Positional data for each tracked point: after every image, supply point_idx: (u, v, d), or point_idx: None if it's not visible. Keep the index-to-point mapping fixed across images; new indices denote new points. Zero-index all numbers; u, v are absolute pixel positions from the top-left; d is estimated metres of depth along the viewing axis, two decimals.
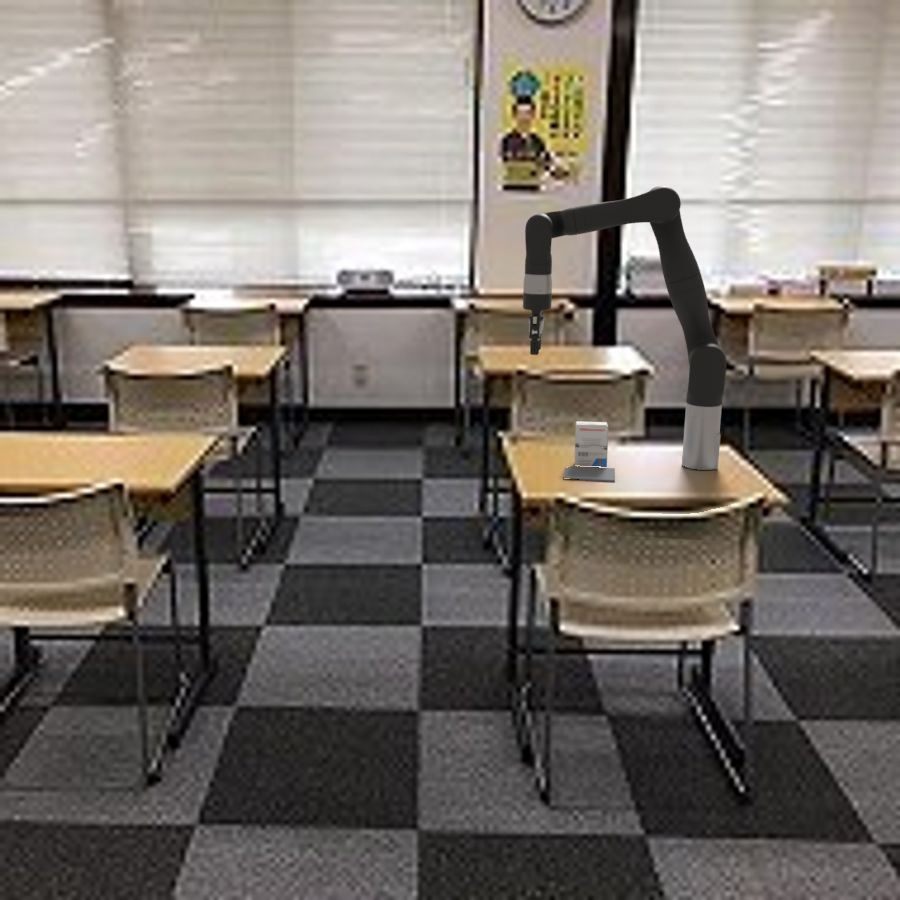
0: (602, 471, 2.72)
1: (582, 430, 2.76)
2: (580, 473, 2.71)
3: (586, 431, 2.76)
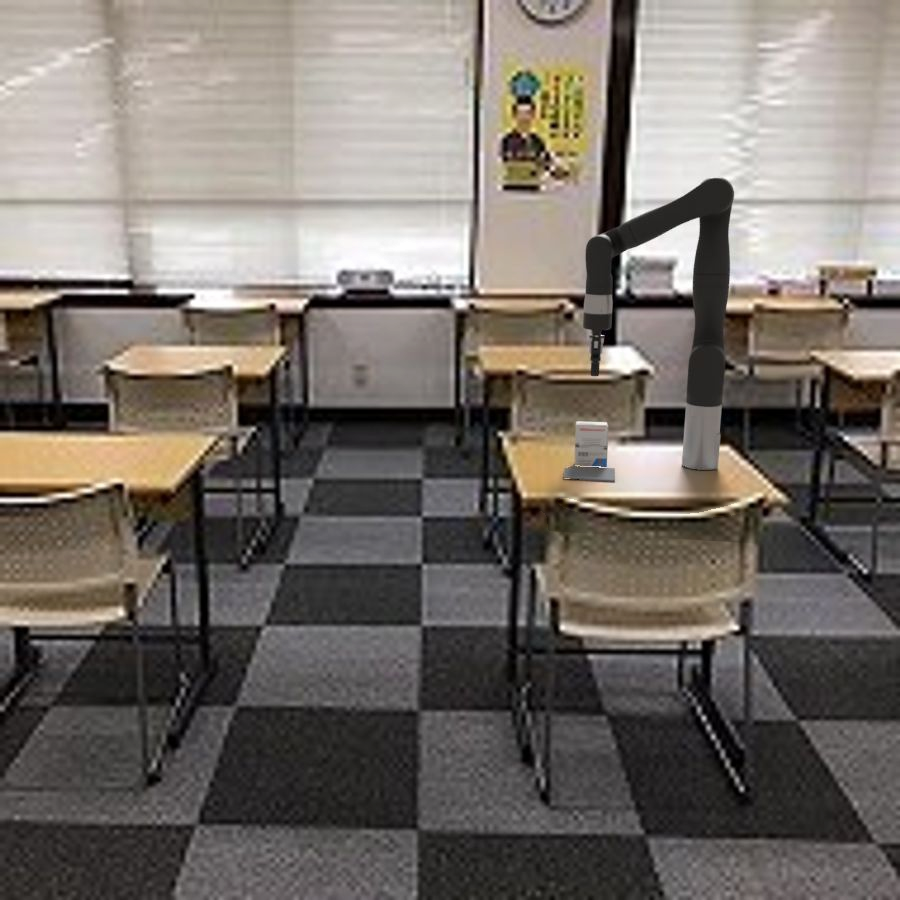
0: (602, 471, 2.72)
1: (582, 430, 2.76)
2: (580, 473, 2.71)
3: (586, 431, 2.76)
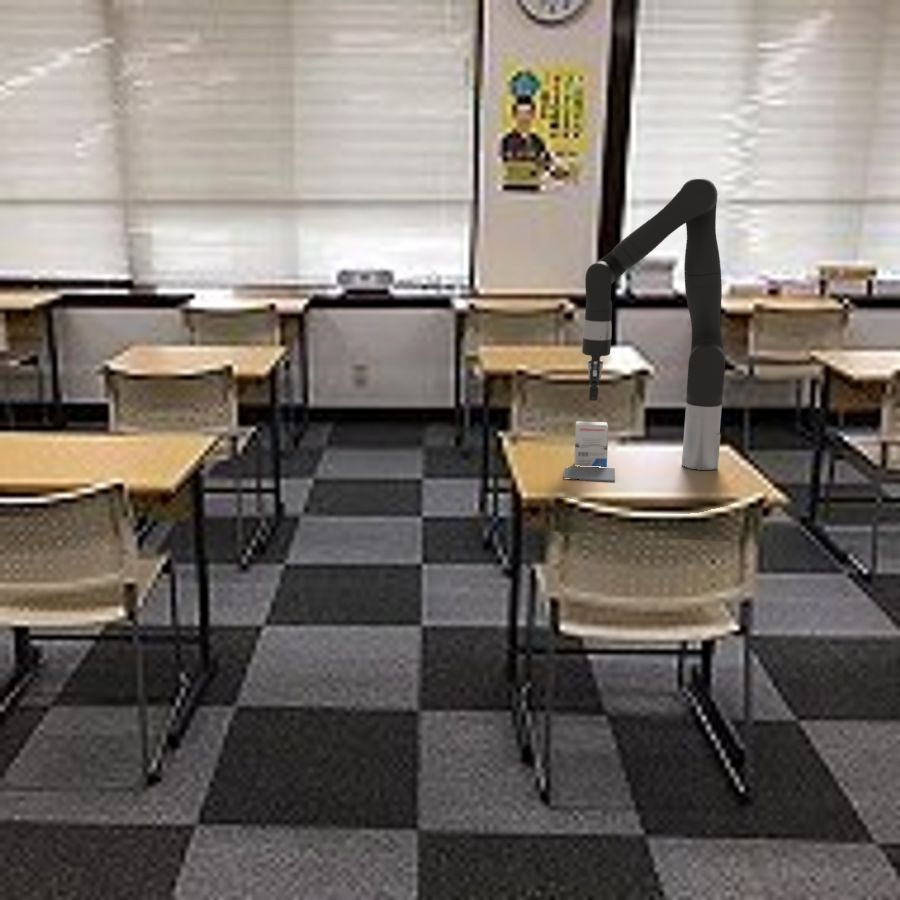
0: (602, 471, 2.72)
1: (582, 430, 2.76)
2: (580, 473, 2.71)
3: (586, 431, 2.76)
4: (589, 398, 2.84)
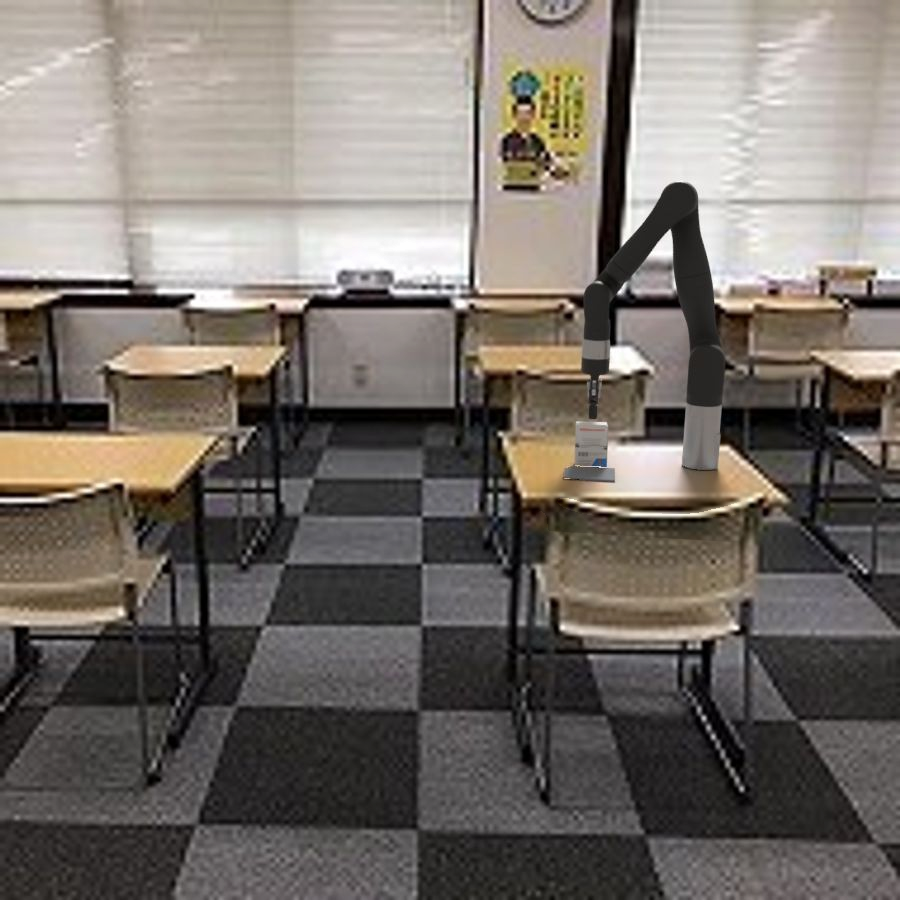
0: (602, 471, 2.72)
1: (582, 430, 2.76)
2: (580, 473, 2.71)
3: (586, 431, 2.76)
4: None
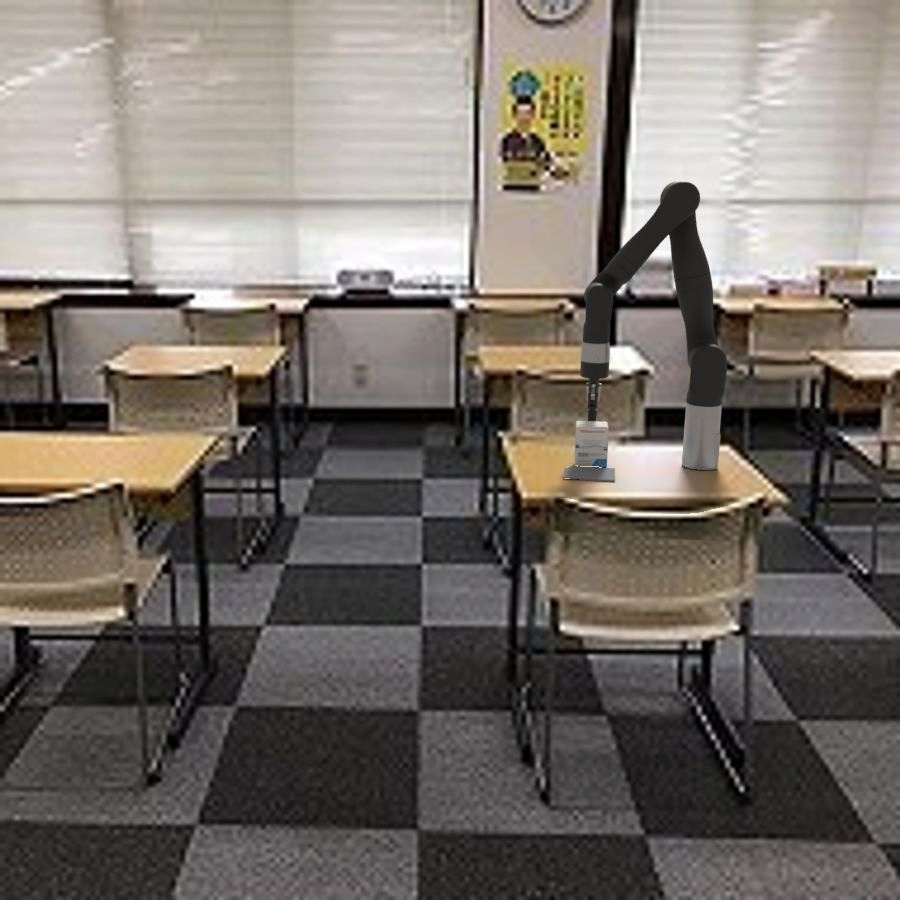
0: (602, 471, 2.72)
1: (582, 432, 2.74)
2: (580, 473, 2.71)
3: (586, 433, 2.74)
4: None
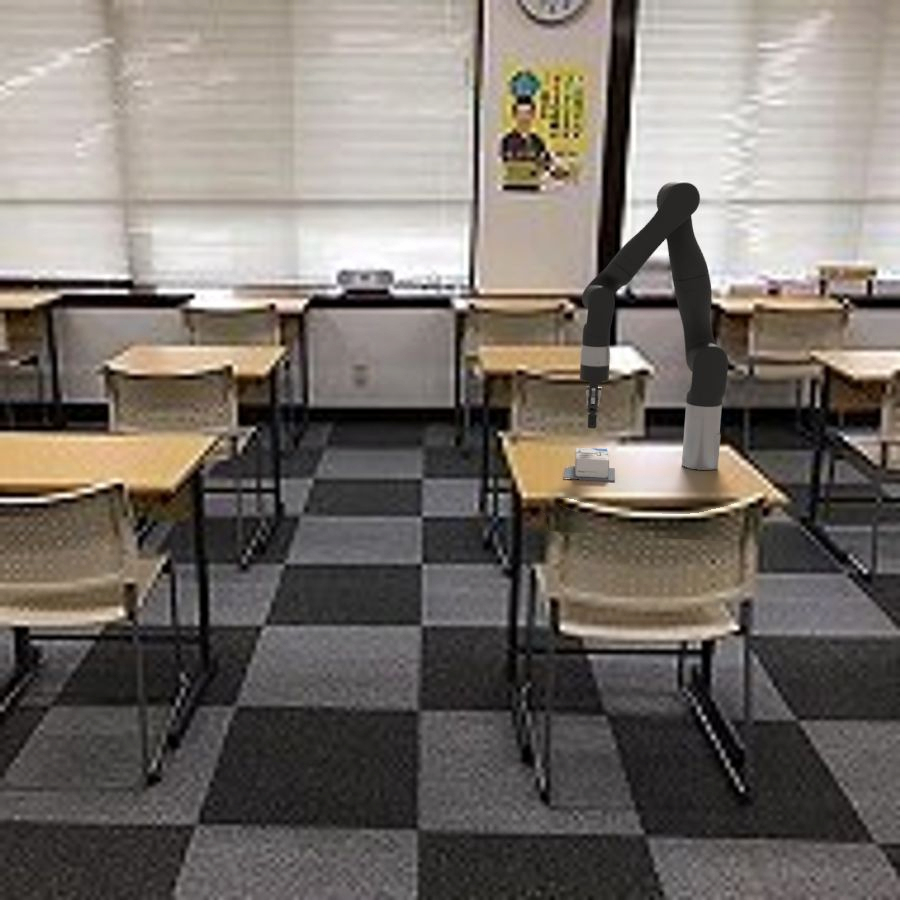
0: None
1: None
2: None
3: None
4: None
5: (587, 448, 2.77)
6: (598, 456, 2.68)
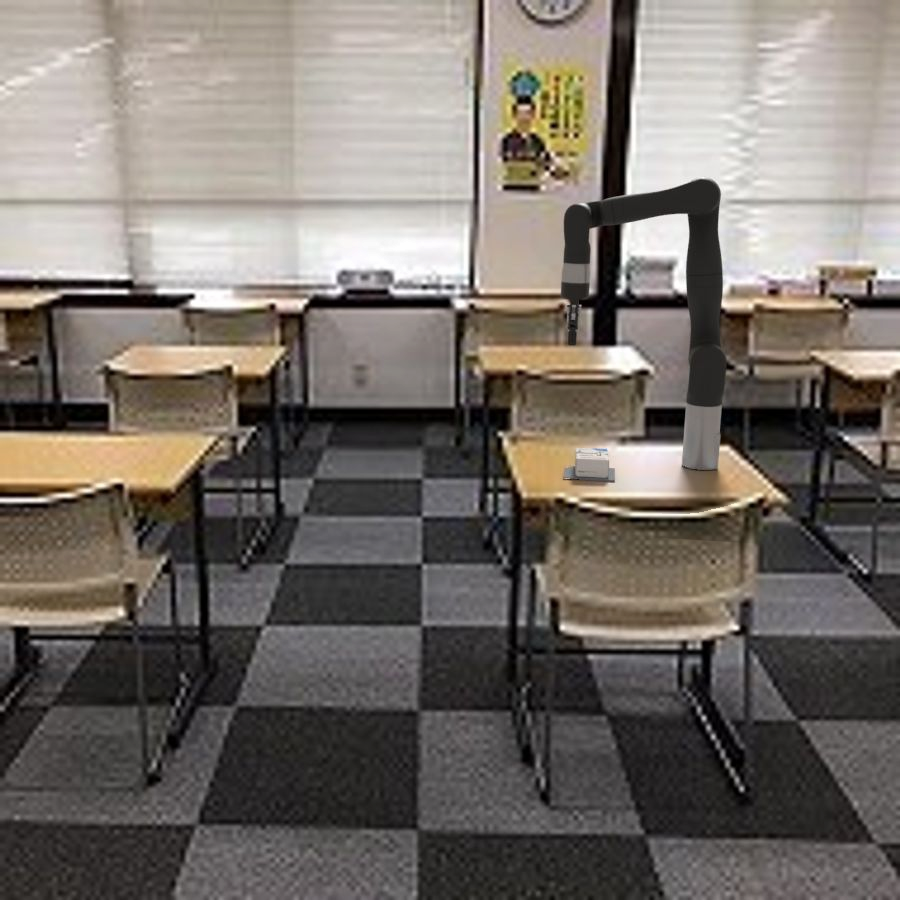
0: None
1: None
2: None
3: None
4: (568, 343, 2.82)
5: (587, 448, 2.77)
6: (598, 456, 2.68)
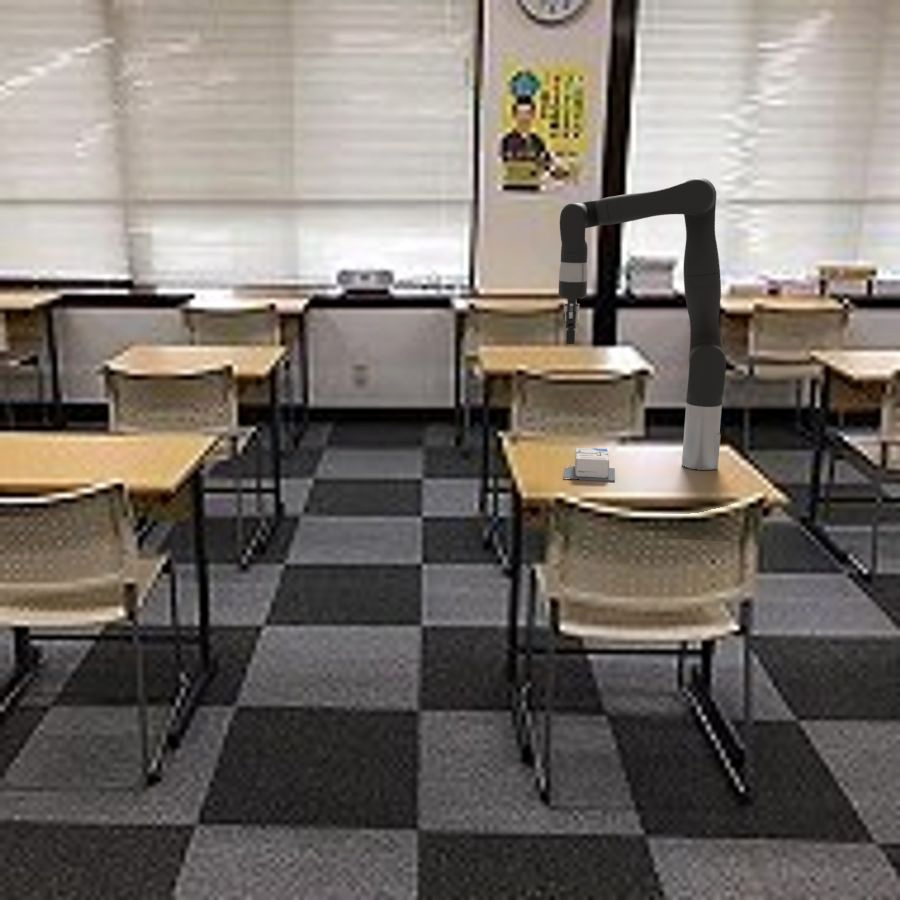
0: None
1: None
2: None
3: None
4: (566, 342, 2.83)
5: (587, 448, 2.77)
6: (598, 456, 2.68)
